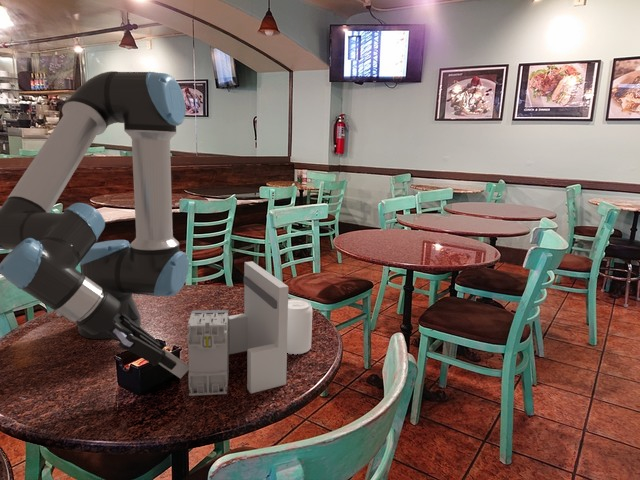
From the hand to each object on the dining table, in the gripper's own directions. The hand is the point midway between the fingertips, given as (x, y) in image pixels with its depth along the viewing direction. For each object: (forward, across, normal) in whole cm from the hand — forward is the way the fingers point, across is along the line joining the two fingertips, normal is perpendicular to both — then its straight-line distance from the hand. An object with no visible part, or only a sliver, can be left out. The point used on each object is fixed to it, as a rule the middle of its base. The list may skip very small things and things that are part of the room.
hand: (184, 371), depth 93 cm
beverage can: (+22, -6, +18) cm, 29 cm away
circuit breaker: (+7, -1, +2) cm, 7 cm away
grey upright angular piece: (+13, -2, +9) cm, 16 cm away
